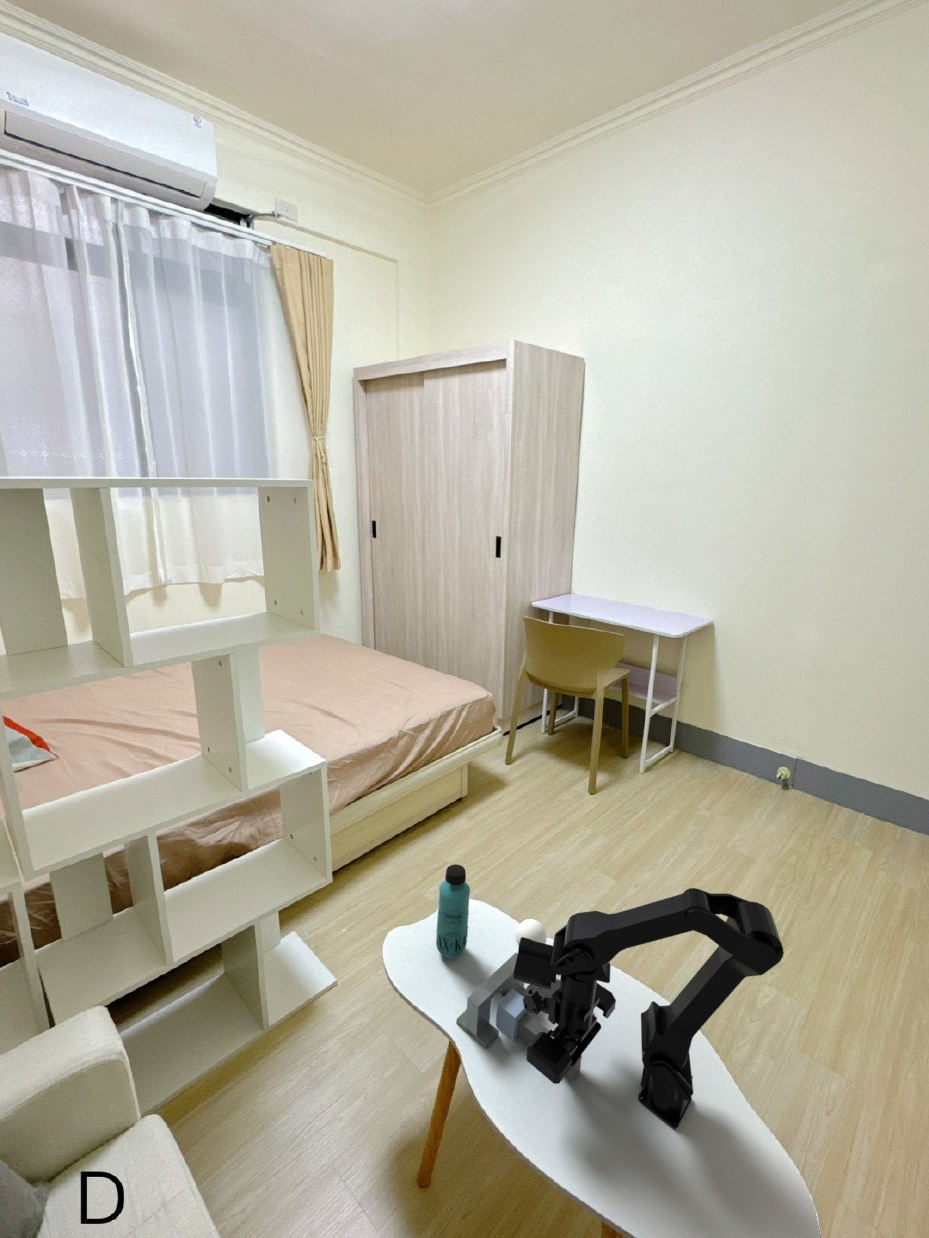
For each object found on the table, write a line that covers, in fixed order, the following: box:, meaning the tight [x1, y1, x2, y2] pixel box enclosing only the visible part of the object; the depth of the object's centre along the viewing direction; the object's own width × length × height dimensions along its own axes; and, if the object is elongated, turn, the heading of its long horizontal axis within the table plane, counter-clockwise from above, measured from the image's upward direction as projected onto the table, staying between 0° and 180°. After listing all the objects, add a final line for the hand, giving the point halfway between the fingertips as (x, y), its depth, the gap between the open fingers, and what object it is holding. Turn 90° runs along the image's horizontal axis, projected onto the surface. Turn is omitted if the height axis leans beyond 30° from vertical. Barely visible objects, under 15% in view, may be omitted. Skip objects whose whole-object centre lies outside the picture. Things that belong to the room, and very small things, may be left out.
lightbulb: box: [515, 918, 548, 946], centre depth 116 cm, size 6×6×11 cm
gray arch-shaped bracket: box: [455, 952, 526, 1050], centre depth 107 cm, size 7×14×8 cm, turn 138°
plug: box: [495, 988, 583, 1083], centre depth 101 cm, size 16×4×5 cm, turn 48°
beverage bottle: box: [435, 863, 471, 958], centre depth 118 cm, size 6×7×20 cm
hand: (568, 1065), depth 97 cm, fingers closed on plug, 2 cm apart
